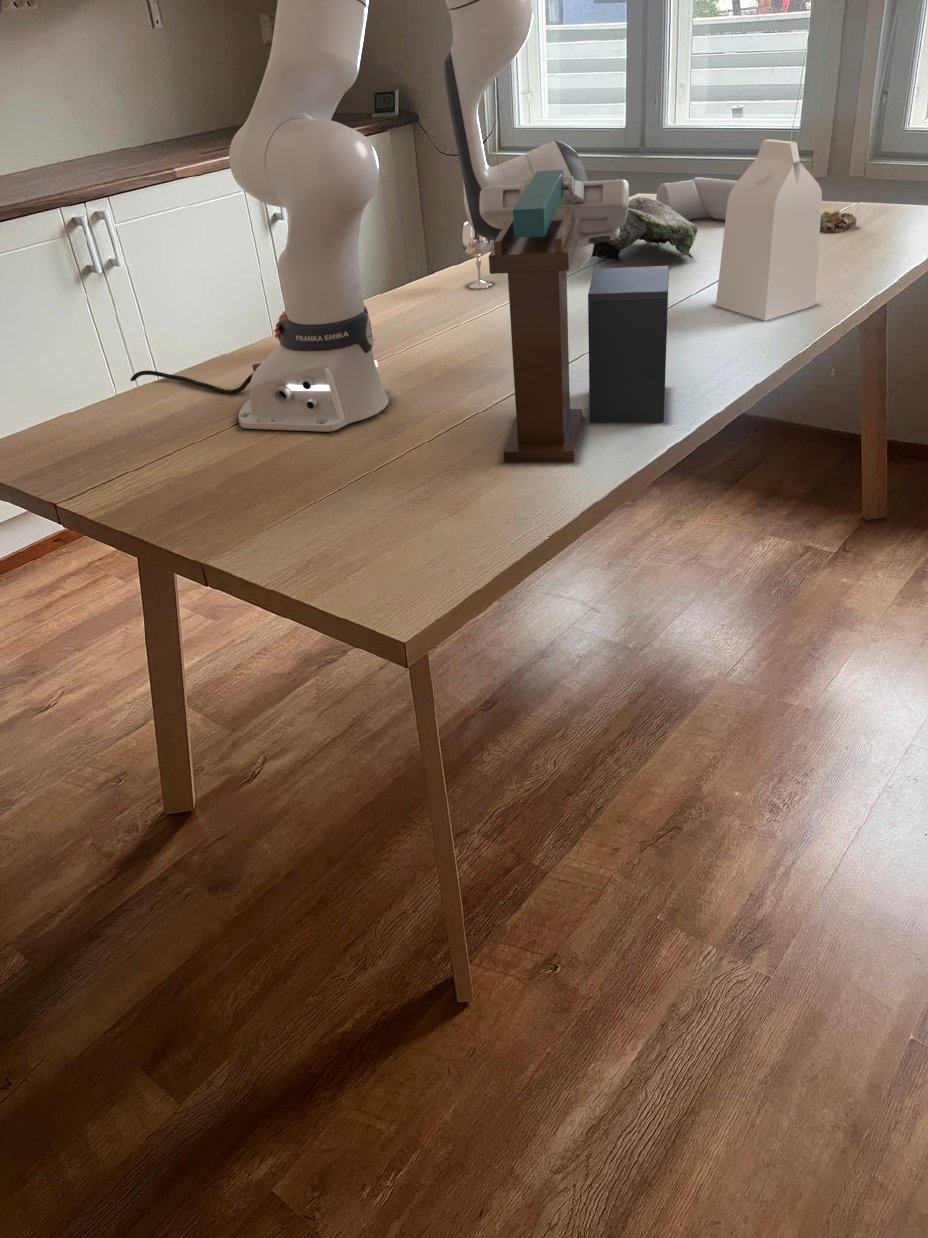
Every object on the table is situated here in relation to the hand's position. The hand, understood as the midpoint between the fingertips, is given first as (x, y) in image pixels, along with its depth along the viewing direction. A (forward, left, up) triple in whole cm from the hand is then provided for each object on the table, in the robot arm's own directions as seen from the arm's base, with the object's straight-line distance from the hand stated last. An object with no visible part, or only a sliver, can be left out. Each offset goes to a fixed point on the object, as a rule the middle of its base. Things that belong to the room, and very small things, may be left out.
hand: (548, 182), depth 123 cm
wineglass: (-16, +63, -29) cm, 71 cm away
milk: (+36, +39, -29) cm, 60 cm away
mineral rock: (+58, +91, -29) cm, 112 cm away
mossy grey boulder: (+14, +77, -29) cm, 84 cm away
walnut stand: (-1, -14, -29) cm, 32 cm away
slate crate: (+10, -4, -29) cm, 31 cm away
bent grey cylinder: (+34, +106, -29) cm, 115 cm away
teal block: (-1, -9, -2) cm, 9 cm away
